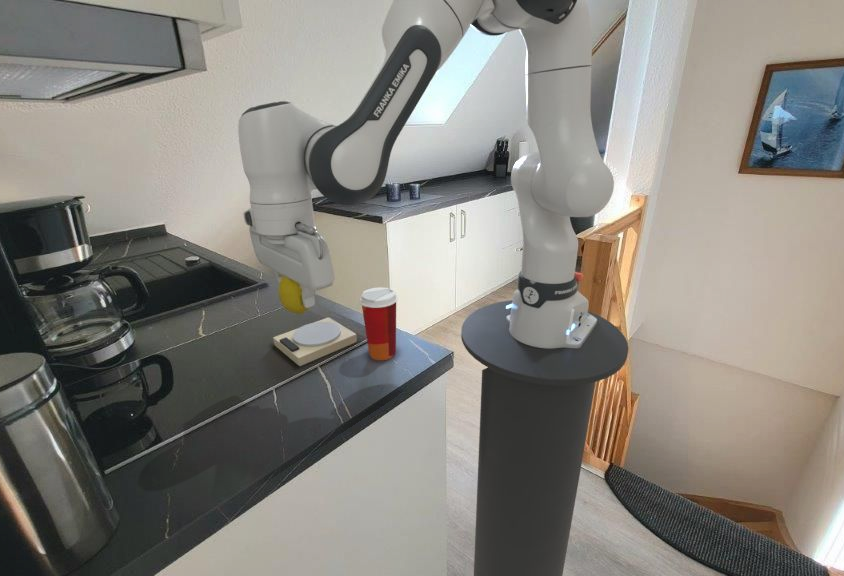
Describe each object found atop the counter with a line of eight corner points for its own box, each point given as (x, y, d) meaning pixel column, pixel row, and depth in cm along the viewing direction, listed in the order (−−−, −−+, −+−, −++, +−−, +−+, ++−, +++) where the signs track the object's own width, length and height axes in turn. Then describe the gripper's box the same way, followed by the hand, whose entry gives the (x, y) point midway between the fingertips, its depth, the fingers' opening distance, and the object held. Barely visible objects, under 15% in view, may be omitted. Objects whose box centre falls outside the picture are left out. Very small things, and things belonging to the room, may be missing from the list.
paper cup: (389, 340, 91) (386, 283, 86) (407, 355, 86) (404, 295, 80) (357, 351, 87) (352, 292, 82) (374, 367, 82) (368, 305, 76)
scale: (329, 324, 99) (328, 314, 98) (357, 341, 91) (356, 331, 90) (274, 345, 90) (272, 335, 89) (299, 366, 82) (297, 355, 81)
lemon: (323, 309, 70) (317, 266, 67) (305, 323, 65) (297, 277, 62) (295, 305, 72) (288, 263, 69) (276, 319, 67) (267, 274, 64)
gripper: (339, 224, 57) (348, 312, 63) (275, 206, 71) (287, 279, 76) (297, 233, 53) (312, 326, 59) (238, 212, 67) (254, 289, 72)
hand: (297, 299), depth 68 cm, fingers closed on lemon, 5 cm apart
